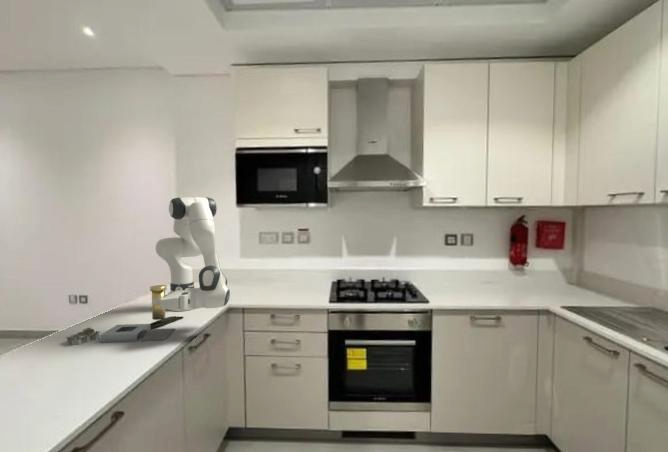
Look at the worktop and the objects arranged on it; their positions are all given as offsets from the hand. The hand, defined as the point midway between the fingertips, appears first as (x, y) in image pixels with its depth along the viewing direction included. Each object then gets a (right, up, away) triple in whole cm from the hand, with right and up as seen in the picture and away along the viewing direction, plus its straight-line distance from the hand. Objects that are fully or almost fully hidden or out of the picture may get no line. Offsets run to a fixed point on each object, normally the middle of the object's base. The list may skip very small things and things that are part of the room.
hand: (156, 299), depth 156 cm
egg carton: (-27, -16, -6) cm, 32 cm away
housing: (-12, -15, -1) cm, 20 cm away
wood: (-6, -15, +18) cm, 24 cm away
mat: (+1, -15, +1) cm, 15 cm away
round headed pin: (+1, -8, 0) cm, 8 cm away
